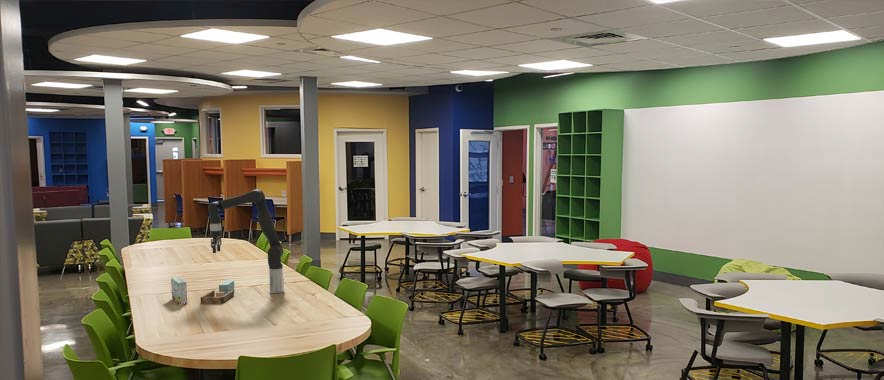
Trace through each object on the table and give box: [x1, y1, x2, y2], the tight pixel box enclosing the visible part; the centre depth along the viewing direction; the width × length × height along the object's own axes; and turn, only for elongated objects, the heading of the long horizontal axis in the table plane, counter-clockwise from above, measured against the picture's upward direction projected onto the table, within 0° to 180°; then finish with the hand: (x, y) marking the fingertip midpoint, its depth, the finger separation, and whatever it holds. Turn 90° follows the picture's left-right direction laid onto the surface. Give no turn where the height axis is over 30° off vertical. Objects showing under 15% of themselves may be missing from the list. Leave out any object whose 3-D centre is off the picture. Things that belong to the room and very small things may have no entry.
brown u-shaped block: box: [200, 289, 235, 304], centre depth 412 cm, size 15×20×4 cm
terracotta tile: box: [215, 290, 226, 297], centre depth 418 cm, size 5×5×4 cm
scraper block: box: [218, 280, 235, 294], centre depth 429 cm, size 6×14×8 cm, turn 1°
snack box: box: [170, 276, 188, 305], centre depth 407 cm, size 21×6×15 cm, turn 37°
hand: (216, 252), depth 435 cm, fingers open, 8 cm apart
